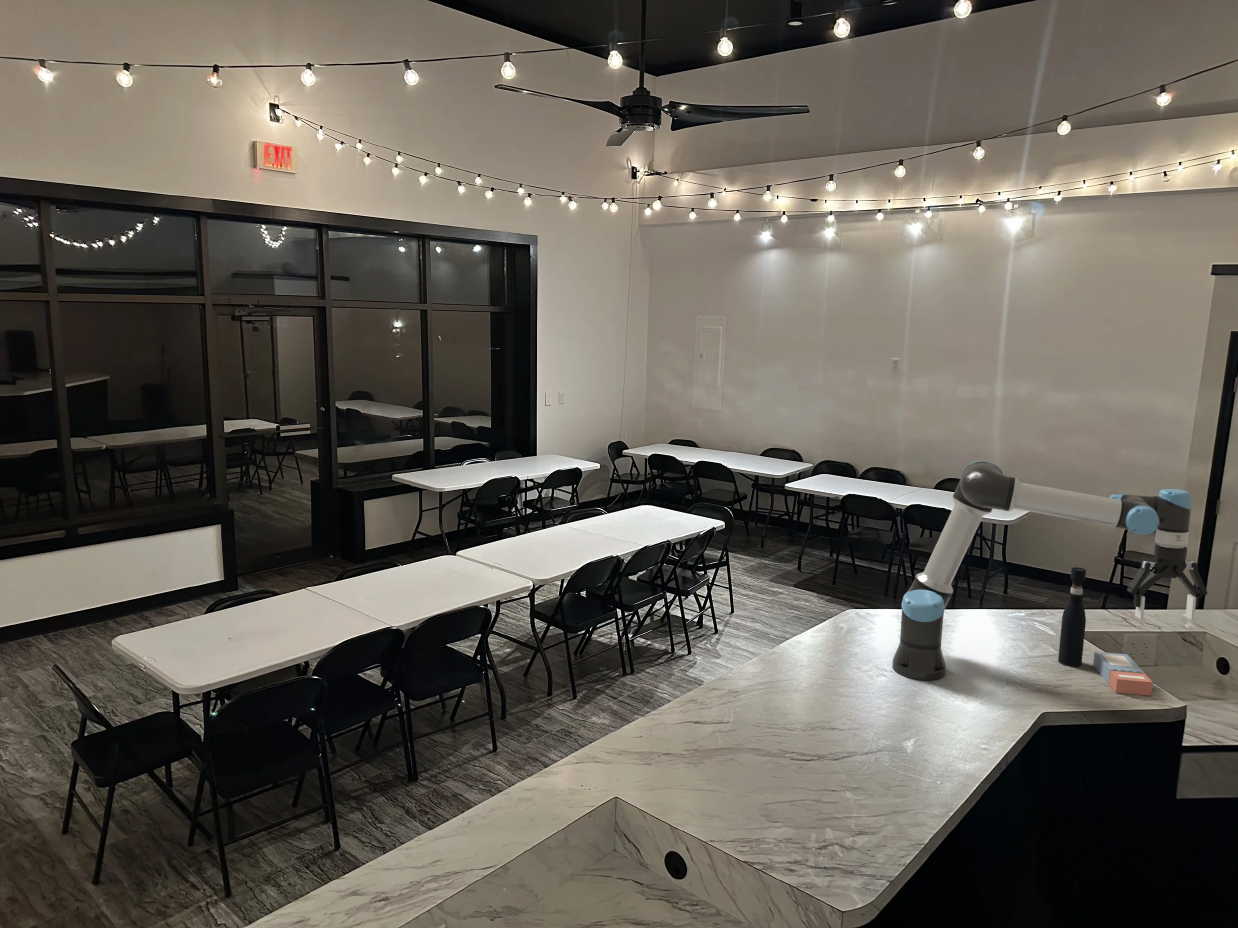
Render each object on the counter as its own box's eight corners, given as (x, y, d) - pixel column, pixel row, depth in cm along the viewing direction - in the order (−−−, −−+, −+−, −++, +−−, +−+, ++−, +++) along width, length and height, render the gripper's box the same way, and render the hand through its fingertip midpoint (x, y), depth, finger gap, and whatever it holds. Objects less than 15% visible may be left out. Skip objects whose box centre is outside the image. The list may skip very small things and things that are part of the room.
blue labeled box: (1108, 683, 239) (1109, 669, 239) (1092, 664, 253) (1094, 651, 252) (1142, 686, 237) (1144, 672, 237) (1125, 667, 251) (1127, 654, 250)
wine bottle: (1085, 667, 251) (1095, 572, 246) (1064, 666, 251) (1073, 572, 246) (1074, 658, 257) (1083, 566, 252) (1054, 658, 257) (1062, 565, 253)
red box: (1115, 692, 233) (1117, 678, 233) (1108, 683, 239) (1110, 670, 238) (1151, 695, 231) (1152, 681, 230) (1143, 686, 237) (1144, 673, 236)
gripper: (1131, 548, 226) (1125, 621, 230) (1227, 548, 224) (1219, 623, 228) (1117, 541, 234) (1111, 612, 237) (1209, 541, 232) (1202, 613, 235)
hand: (1164, 618), depth 232 cm, fingers open, 13 cm apart
